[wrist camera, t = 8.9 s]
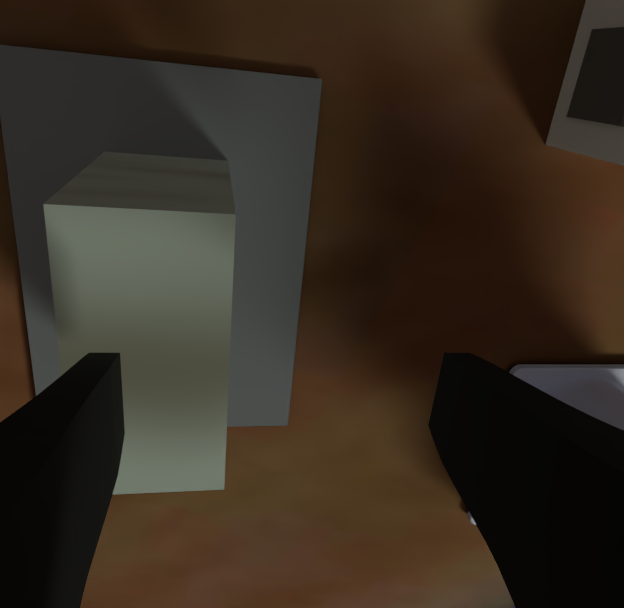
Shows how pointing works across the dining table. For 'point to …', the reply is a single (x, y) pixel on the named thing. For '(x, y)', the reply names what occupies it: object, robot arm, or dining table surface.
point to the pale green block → (151, 305)
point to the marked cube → (594, 87)
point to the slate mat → (177, 143)
